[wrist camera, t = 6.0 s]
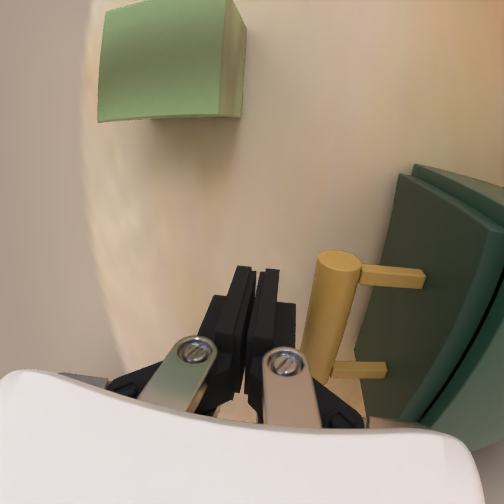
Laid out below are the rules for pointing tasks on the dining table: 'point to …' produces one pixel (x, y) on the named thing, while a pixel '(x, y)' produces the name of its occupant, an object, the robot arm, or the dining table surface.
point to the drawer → (408, 301)
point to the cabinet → (485, 345)
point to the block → (172, 61)
